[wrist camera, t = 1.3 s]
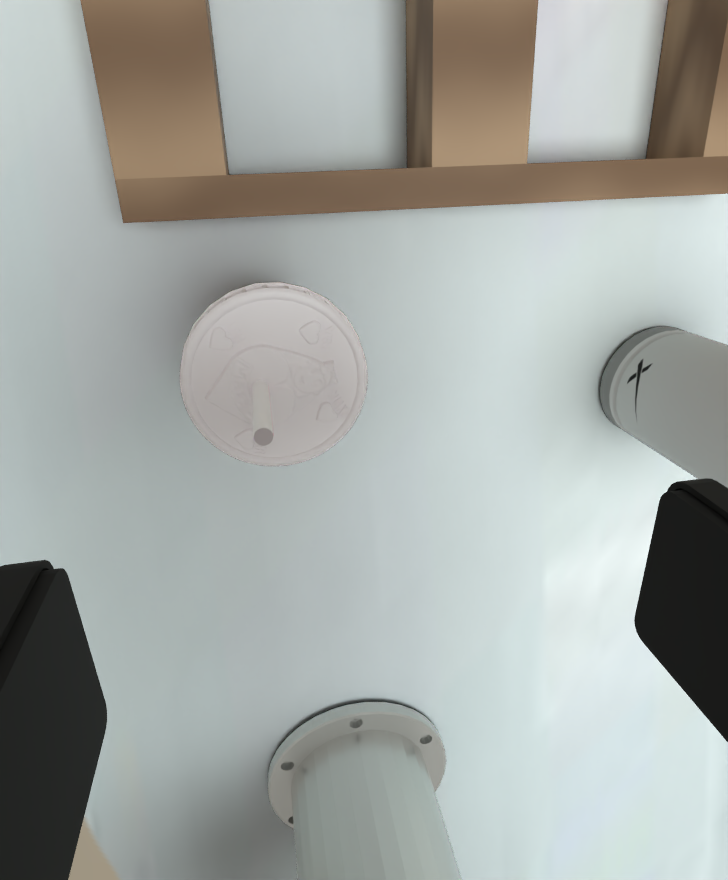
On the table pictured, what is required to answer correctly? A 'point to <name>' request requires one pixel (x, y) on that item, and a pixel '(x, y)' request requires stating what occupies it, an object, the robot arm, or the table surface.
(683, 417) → the travel mug
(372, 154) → the table surface
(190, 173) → the wooden frame
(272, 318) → the smoothie
